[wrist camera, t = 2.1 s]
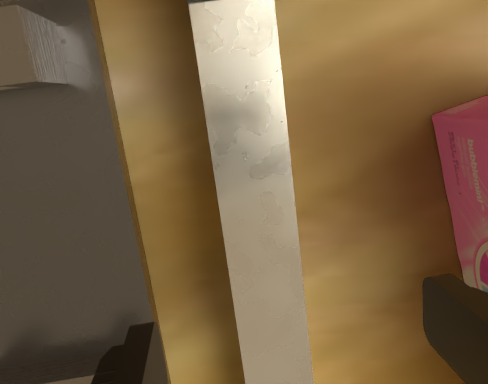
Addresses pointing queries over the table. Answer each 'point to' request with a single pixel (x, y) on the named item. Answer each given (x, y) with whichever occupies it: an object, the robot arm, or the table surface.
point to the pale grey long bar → (254, 184)
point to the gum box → (467, 183)
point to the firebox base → (63, 200)
